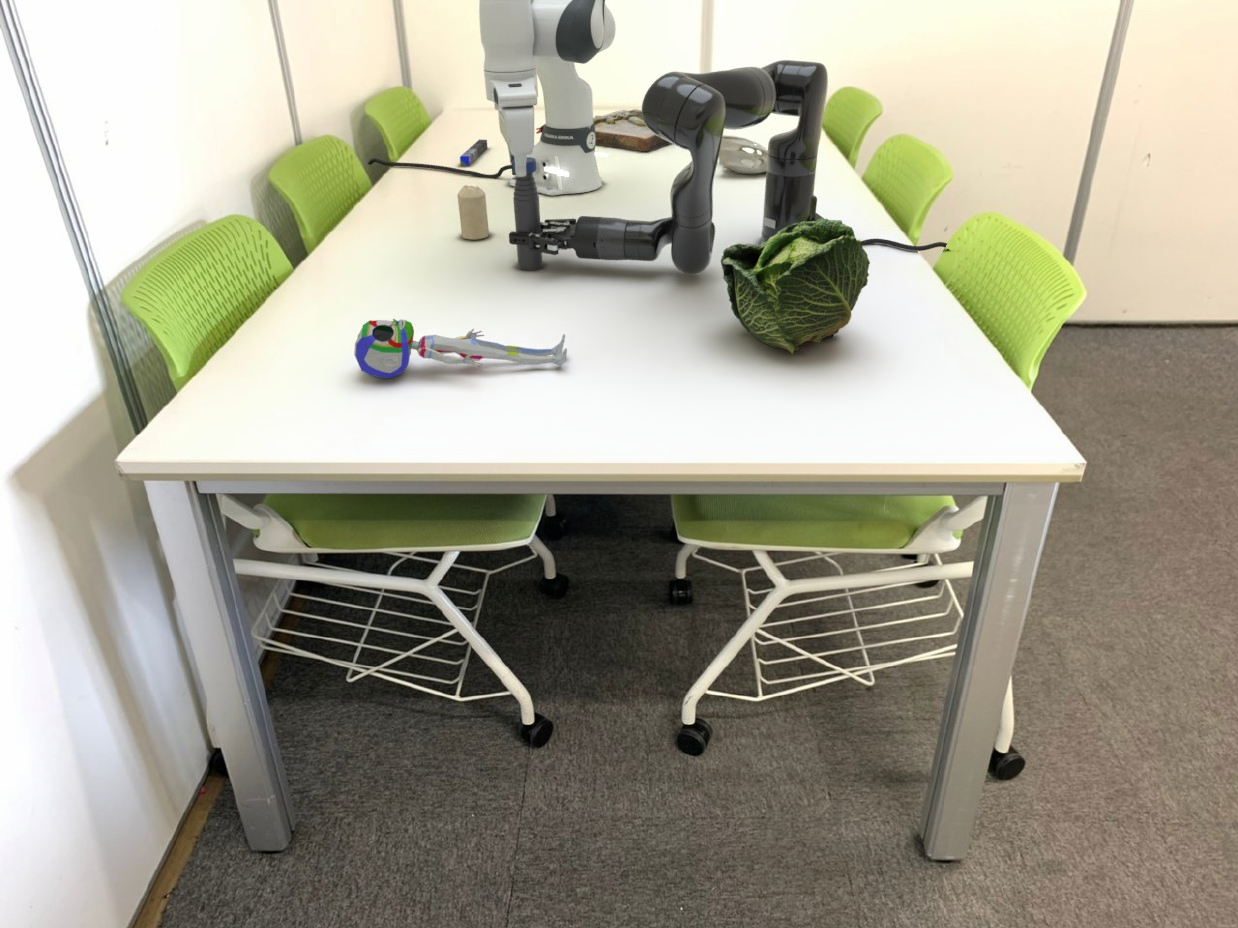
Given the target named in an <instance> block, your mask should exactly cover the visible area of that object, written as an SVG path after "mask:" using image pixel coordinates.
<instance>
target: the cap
mask: <svg viewBox="0 0 1238 928" xmlns="http://www.w3.org/2000/svg"><path fill="white" fill-rule="evenodd" d="M512 170H513V172H515V161H514V159H513V160H512V169H511V171H512ZM535 171H536V160H535V159H534V158H531V157H527V161H526V174H527V173H533V172H535Z"/></svg>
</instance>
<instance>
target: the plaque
mask: <svg viewBox="0 0 1238 928" xmlns="http://www.w3.org/2000/svg"><path fill="white" fill-rule="evenodd" d="M593 123H594V124H595V133H596V144H595V145H597V146H598V145H599V146H607V147H612V148H620V149H625V150H632V151H640V152H648V151H654V150H656V149H659V148H662V147H663V146H664V147H665V146H667V145H670V144H671V143H670V142H668V141H666V140H664V139H662V138H660V137H658V136H656V135H655V134H654V133H652V132H651V131H650V130H649V129H648V128H647V126H646V125H645V123H644V121H643V118H642V109H637V108H636V109H635V108H634V109H630V110H629V109H620V110H616V111H613V112H610V113H608V114H602V115H594V117H593Z"/></svg>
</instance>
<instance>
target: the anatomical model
mask: <svg viewBox="0 0 1238 928" xmlns="http://www.w3.org/2000/svg"><path fill="white" fill-rule="evenodd" d="M744 149H752V150H753V152H752V153H750V152H748V151H746V150H744ZM758 151H760V153H761V154H760V153H758ZM767 156H768V149H766V147H764V145H762V144H760V143H758V142H756V141H753V140H750V139H748V138H744V137H741V136H736V135H726V134H723V137H722V142H721V148H720V153H719V158H718V165H722V166H723V167H724V169H726V170H727V171H731V170H732V171H734V172H736V173H738V174H743V175H744V174H745V175H748V174H749V175H752V174H761V173H766V171H767Z"/></svg>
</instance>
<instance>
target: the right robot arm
mask: <svg viewBox="0 0 1238 928" xmlns="http://www.w3.org/2000/svg"><path fill="white" fill-rule="evenodd" d="M828 84H829V74H828V70H827V67H826V66H825V64H823V63H822V62H817V61H807V60H805V61H804V60H791V59H783V60H782V59H781V60H777V61H773V62H772V63H769V64H767V65H764V66H763V67H757V66H743V67H742V66H741V67H736V68H731V69H726V70H718V71H711V72H704V73H693V72H683V71H670V72H667V73H664V74H663V75H660V77H658V78H657V79H656V80H654V81H653V83H652V84H651V85H650V86H649V88H648V89H647V91H646V93H645V95H644V96H643V99H642V104H641V110H642V118H643V121H644V123H645V125H646V126H647V128H648V129H649V130H650V131H651V132H652V133H654V134H655V135H656V136H658V137H660V138H662V139H664V140H666V141H668V142H670V143H669V144H672V145H674V146H676V147H678V148H680V149H683V150H686V151H688V152H689V154H690V157H691V161H690V162H689V164H687V165H686V166H685V167H684V168H683V169H682V170H680V172H679V173H678V174H677V175H676V176H675V178H674V180H673V182H672V184H671V187H670V193H669V195H670V196H669V202H670V213H671V216H669V217H665V218H659V219H655V220H637V219H624V218H619V217H608V216H607V217H606V216H589V215H580V216H579V217H578V218H577V219H576V218H552V219H549V218H548V219H547V218H546V219H544V221H540V225H541V232H530V233H529V232H516V231H515V230H513V231H510V232H509V233H508V242H509V244H510V245H515V246H517V245H529V250H530V251H534V252H540V253H542V254H545V255H546V254H547V255H553V256H557V255H559V251H567V250H568V249H569V250H570V249H573V250H574V252H575V256H576V257H577V258H578V259H583V260H597V261H598V260H599V261H636V262H654V261H656V260H657V259H659V257H660V254H661V252H662V251H663V249H664V248H665V247H666V246H667V245H671V246H670V248H671V249H670V256H671V261H672V264H673V265H674V266H675V268H676V269H677V270H678V271H680V272H681V273H683V274H686V275H691V276H694V275H698V274H701V273H703V272H704V271H705V270H706V269H707V268H708V267H709V265H710V264H711V260H712V257H713V249H714V244H715V238H716V226H715V223H714V222H713V217H714V216H713V215H714V180H715V175H716V171H717V166H718V163H719V153H720V148H721V142H722V137H723V135H724V132H725V130H732V131H734V130H735V131H736V130H743V129H748V128H751V127H754V126H757V125H759V124H761V123H763V122H764V121H765V120H767V119H768V117H770V115H771V114H774V115H780V116H788V117H796V118H797V117H798V122H797V125H796V127H794V128H793V129H791V130H789V131H785V132H782V133H778V134H775V135H773V136H771V137H770V138H769V140H768V146H767V150H768V156H767V171H766V172H765V186H764V187H765V188H764V198H763V199H764V200H763V214H762V227H761V237H760V244H762V243H764V242H767V241H768V240H769V238H770V237H772V236H775V234H776V233H777V232H778V231H780V230H782V229H784V228H786V227H787V226H789V225H791V224H795V223H800V222H804V221H805V222H811V221H817V220H818V219H820V218H823V220H824V219H825V218H824V217H823V216H821V215H820V214H819V213H817V206H818V204H817V203H818V197H817V196H815V194H814V192H815V183H816V173H817V164H818V163H817V162H818V153H819V145H820V141H821V138H822V137H821V136H822V131H823V130H822V128H823V122H824V115H825V109H826V103H827V96H828V89H829V88H828V87H829V85H828ZM536 241H538V242H539V243H536ZM860 241H861V243H862V245H863V246H865V245H866V246H867V245H870V244H881V245H887V246H891V247H895V248H899V249H902V250H906V251H907V250H909V251H915V252H921V251H923V252H924V251H928V250H932V249H935V248H945V247H946V245H947V244H948V243H946V242H944V241H937V242H933V243H929V244H925V245H911V244H905V243H902V242H897V241H894V240H890V239H884V238H869V239H864V240H860Z"/></svg>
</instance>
